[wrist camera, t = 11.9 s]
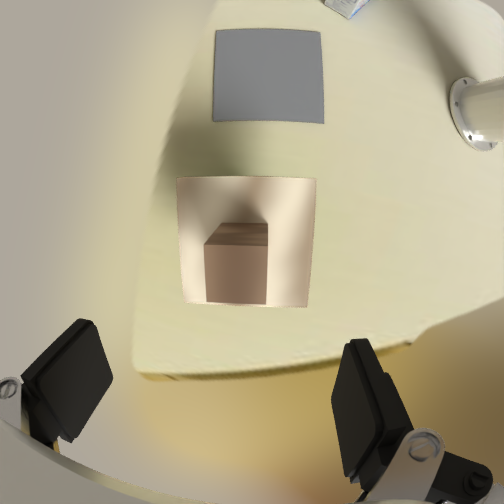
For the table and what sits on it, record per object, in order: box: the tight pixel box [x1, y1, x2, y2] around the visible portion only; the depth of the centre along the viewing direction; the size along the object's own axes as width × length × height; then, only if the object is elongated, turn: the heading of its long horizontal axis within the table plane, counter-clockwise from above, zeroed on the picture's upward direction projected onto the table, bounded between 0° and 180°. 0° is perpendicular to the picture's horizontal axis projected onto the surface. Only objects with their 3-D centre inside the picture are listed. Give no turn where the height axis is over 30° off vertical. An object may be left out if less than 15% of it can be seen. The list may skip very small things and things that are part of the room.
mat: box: [213, 29, 324, 124], centre depth 29 cm, size 14×14×1 cm
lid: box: [176, 176, 317, 307], centre depth 21 cm, size 12×12×8 cm
